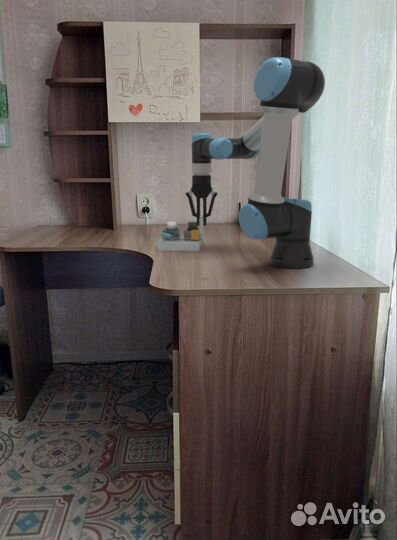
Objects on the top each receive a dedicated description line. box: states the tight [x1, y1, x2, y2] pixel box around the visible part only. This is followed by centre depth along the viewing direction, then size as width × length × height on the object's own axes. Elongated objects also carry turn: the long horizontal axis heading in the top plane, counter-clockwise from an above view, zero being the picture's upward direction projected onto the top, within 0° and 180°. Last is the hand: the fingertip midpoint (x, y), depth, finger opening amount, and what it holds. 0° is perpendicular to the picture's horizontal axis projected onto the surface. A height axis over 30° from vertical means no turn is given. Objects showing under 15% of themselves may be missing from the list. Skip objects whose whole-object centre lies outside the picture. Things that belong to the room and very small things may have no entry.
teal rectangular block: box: [160, 233, 172, 239], centre depth 176 cm, size 2×4×1 cm, turn 84°
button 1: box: [166, 220, 178, 230], centre depth 182 cm, size 4×4×3 cm
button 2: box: [187, 221, 198, 230], centre depth 181 cm, size 4×4×3 cm
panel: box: [157, 227, 204, 252], centre depth 179 cm, size 15×17×7 cm
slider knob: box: [191, 230, 199, 240], centre depth 174 cm, size 3×3×4 cm
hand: (201, 233), depth 174 cm, fingers closed
